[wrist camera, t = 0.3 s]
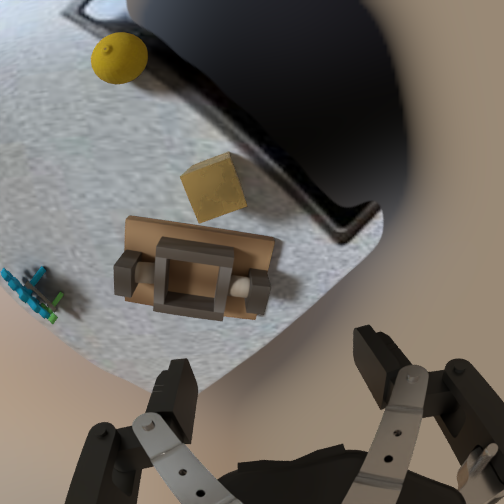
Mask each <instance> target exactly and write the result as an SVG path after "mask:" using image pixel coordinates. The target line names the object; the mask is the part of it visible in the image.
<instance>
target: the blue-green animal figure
mask: <svg viewBox="0 0 504 504" xmlns="http://www.w3.org/2000/svg"><path fill="white" fill-rule="evenodd" d="M45 272H46V270H45V269H44V268H43V267H42V266H41V267H40V269H39V270H38V271H37V273H36V274H35V275H34V277H33V278H32V279H31V281H30V282H29V281H27V283H26V284H25V285H24V287H23V286H22V284H21V283H20V282H19V280H18V279H16V278H15V277H13V275H12V274H11V273H10V272H9V271H8V270H6V269H5V268H3V269H2V271H1V276H2V277H3V278H4V279H5V280H6V281H8V282H9V283H8V285H9V286H10V288H11V289H12V290H13V291H16V292H17V293H18V294H19V298H20V299H21V300H22V301H23V302H25V303H26V302H27V303H28V304H29V306H30V307H31V308H32V309H33V310H34V311H35V312H36V313H39V314H40V315H41V316H42V317H43V318H44V319H45V318H47V319H48V318H49V319H48V320H49V321H50V322H51V323H52V324H54V322H55V321H56V320H57V318H58V317H57V316H56V315H55V314H54V313H55V311H56V310H57V308H56V307H55V306H56V305H57V303H58V302H59V301H60V299H61V298H62V297H63V295H64V294H63V293H62V292H61V291H60V293H59V294H58V295H57V297H56V298H55V299H54V301H53V302H52V303H51V302H50V301H49V300H47V299H46V298H45V297H44V296H43V295H42V294H41V293H40V292H39V291H38V290H37V289H36V288H35V287H34V286H35V285H36V284H37V282H38V281H39V280H40V278H41V277H42V276H43V274H44V273H45ZM33 291H35V292H36V293H37V294H38V295H39V296H40V297H41V298H42V299H43V300H44V301H45V302H46V303H47V306H48V307H47V306H46V305H45V304H44V303H41V304H40V303H39V301H38V300H37V299H36V298H35V297H33V296H32V295H31V294H32V293H33ZM53 312H54V313H53ZM50 314H51V315H50Z"/></svg>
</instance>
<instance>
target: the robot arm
mask: <svg viewBox="0 0 504 504" xmlns="http://www.w3.org/2000/svg"><path fill="white" fill-rule="evenodd" d="M353 335H354V336H353V356H354V361H355V364H356V366H357V368H358V370H359V372H360V373H361V375H362V377H363V379H364V381H365V382H366V384H367V386H368V388H369V390H370V391H371V393H372V395H373V397H374V399H375V401H376V402H377V404H378V406H379V408H380V410H382V409H384V408H386V409H385V411H384V414H383V417H382V420H381V422H380V425H379V428H378V430H377V433H376V435H375V438H374V440H373V442H372V445H371V447H370V449H369V452H365V451H361V450H345V448H344V445H343V444H340V445H336V446H332V447H328V448H324V449H320V450H317V451H314V452H312V453H310V454H308V455H305V456H303V457H301V458H298V459H296V460H293V461H273V460H259V461H252V462H241V463H238V470H235V471H232V472H230V473H228V474H226V475H224V476H222V477H221V478H219V479H216V478H215V477H214V476H213V475H212V474H211V473H210V472H209V471H208V470H207V469H206V468H205V467H204V466H203V465H202V463H201V462H200V461H199V460H198V459H197V458H196V457H195V456H194V455H193V453H192V452H191V451H190V450H189V449H188V448H187V447H186V445H185V444H191V440H192V433H193V425H194V418H195V411H196V403H197V397H198V386H197V382H196V379H195V376H194V374H193V371H192V369H191V366H190V363H189V361H188V359H187V358H185V359H175V360H171V362H170V366H169V369H168V370H164V371H162V372H161V374H160V375H159V376H158V377H157V379H156V382H155V386H154V388H153V393H152V394H151V397H150V400H149V403H148V406H147V409H146V412H145V413H144V414H142V415H140V416H138V417H137V418H136V419H135V420H134V422H133V425H132V426H129V427H124V428H119V429H115V427H114V426H113V425H112V424H111V423H108V422H102V423H98V424H96V425H95V426H93V427H92V428H91V430H90V431H89V433H88V436H87V438H86V441H85V444H84V447H83V449H82V452H81V455H80V458H79V461H78V463H77V466H76V469H75V472H74V475H73V478H72V481H71V484H70V488H69V491H68V494H67V497H66V501H65V504H137V498H138V491H139V485H140V479H141V473H142V469H144V468H149V467H153V466H154V467H155V468H156V470H157V471H158V473H159V474H160V476H161V477H162V478H163V480H164V481H165V483H166V484H167V486H168V487H169V488H170V490H171V491H172V492H173V494H174V495H175V496H176V498H177V499H178V500H179V501H180V503H181V504H495V503H497V502H498V501H499V500H500V499H501V498H503V497H504V402H503V401H502V400H501V398H500V397H499V396H498V395H497V394H496V392H495V391H494V390H493V389H492V388H491V386H490V385H489V384H488V383H487V382H486V380H485V379H484V378H483V377H482V376H481V375H480V373H479V372H478V371H477V370H476V369H475V368H474V367H473V365H472V364H471V363H470V362H469V361H467V360H464V359H453V360H451V361H449V362H448V363H447V364H446V366H445V370H440V371H434V372H428V371H427V370H426V369H425V368H423V367H422V366H419V365H412V364H411V362H410V361H409V360H408V359H407V357H406V356H405V355H404V354H403V352H402V351H401V350H400V349H399V348H398V346H397V345H396V344H395V343H394V341H393V340H392V339H391V338H390V337H389V336H388V335H386V334H385V333H383V332H377V333H376V332H375V331H374V330H373V328H372V327H371V326H370V325H365V326H361V327H358V328H355V329H354V332H353ZM431 416H434V418H435V419H436V421H437V423H438V425H439V426H440V428H441V430H442V432H443V434H444V435H445V437H446V439H447V441H448V443H449V444H450V446H451V448H452V450H453V452H454V454H455V455H456V457H457V459H458V461H459V463H460V465H461V467H460V469H459V470H458V473H457V481H458V490H457V489H455V488H454V487H451V486H449V485H446V484H443V483H440V482H438V481H435V480H432V479H429V478H427V477H424V476H422V475H419V474H417V473H414V472H412V471H410V470H408V466H409V464H410V460H411V457H412V454H413V450H414V447H415V444H416V440H417V436H418V432H419V428H420V424H421V420H422V418H425V417H431Z"/></svg>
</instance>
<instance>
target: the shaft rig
mask: <svg viewBox="0 0 504 504" xmlns="http://www.w3.org/2000/svg"><path fill="white" fill-rule="evenodd" d="M274 243H275V241H274V238H273V237H270V236H263V235H257V234H251V233H245V232H238V231H232V230H225V229H219V228H212V227H206V226H199V225H193V224H186V223H179V222H172V221H165V220H158V219H151V218H144V217H137V216H128V217H127V218H126V221H125V249H124V253H123V254H122V255H121V257H120V258H119V259H118V261H117V262H116V263H115V265H114V292H115V295H118V296H124V297H125V301H128V302H134V303H139V304H145V305H151V306H153V311H155V312H161V313H167V314H174V315H180V316H187V317H194V318H201V319H208V320H216V321H223V316H226V317H234V318H242V319H252V320H256V316H257V314H261V315H264V312H265V309H266V305H267V301H268V297H269V294H270V290H271V285H270V282H269V278H268V275H267V272H268V268H269V264H270V260H271V256H272V252H273V247H274Z"/></svg>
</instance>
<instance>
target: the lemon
mask: <svg viewBox="0 0 504 504" xmlns="http://www.w3.org/2000/svg"><path fill="white" fill-rule="evenodd" d="M147 60H148V51H147V48H146V46H145V44H144V43H143V42H142V40H141V39H140V38H138V37H136V36H135V35H133V34H129V33H124V32H120V33H114V34H110V35H108V36H106V37H105V38H103V39H102V40H101V41H100V42H99V43H98V44H97V45H96V47H95V48H94V50H93V53H92V56H91V64H92V68H93V70H94V72H95V74H96V75H97V76H98V77H99V78H100V79H101V80H103V81H105V82H107V83H111V84H124V83H127V82H130V81H132V80H134V79H135V78H137V77H138V76H139V75H140V74H141V73H142V71H143V70H144V68H145V66H146V64H147Z"/></svg>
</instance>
